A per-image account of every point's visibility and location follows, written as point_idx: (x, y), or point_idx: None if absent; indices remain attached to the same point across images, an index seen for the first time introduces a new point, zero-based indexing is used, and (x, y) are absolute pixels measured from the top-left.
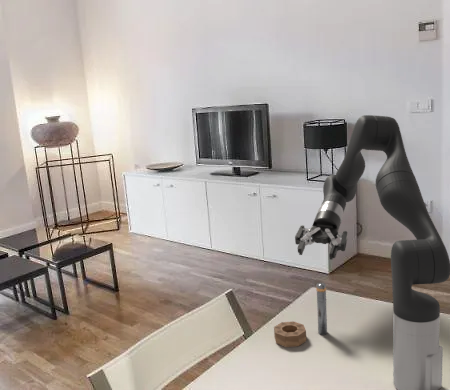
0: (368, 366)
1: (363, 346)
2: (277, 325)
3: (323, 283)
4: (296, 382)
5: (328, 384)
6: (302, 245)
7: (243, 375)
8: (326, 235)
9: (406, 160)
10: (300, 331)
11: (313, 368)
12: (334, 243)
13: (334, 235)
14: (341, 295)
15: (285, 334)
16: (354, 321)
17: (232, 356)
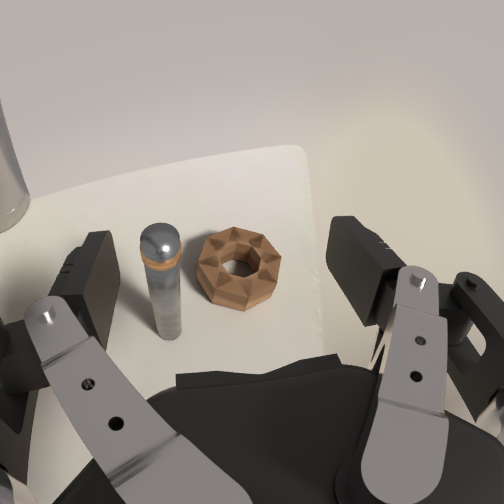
0: (59, 232)
1: None
2: (277, 265)
3: (151, 248)
4: (172, 168)
5: (123, 175)
6: (358, 237)
7: (257, 165)
8: (186, 437)
9: None
10: (209, 255)
11: (154, 201)
12: (58, 313)
13: (70, 485)
14: None
15: (237, 234)
16: None
17: (306, 198)
